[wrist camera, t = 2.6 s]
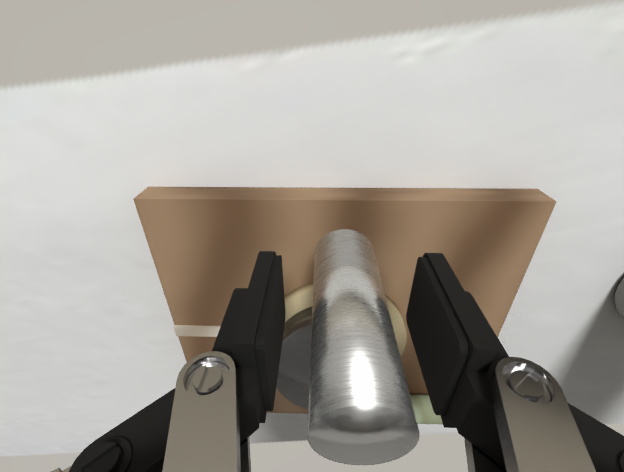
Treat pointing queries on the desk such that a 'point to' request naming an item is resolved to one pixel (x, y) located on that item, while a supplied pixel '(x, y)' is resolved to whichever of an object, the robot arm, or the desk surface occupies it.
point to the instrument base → (319, 222)
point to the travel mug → (620, 298)
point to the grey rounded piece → (348, 359)
